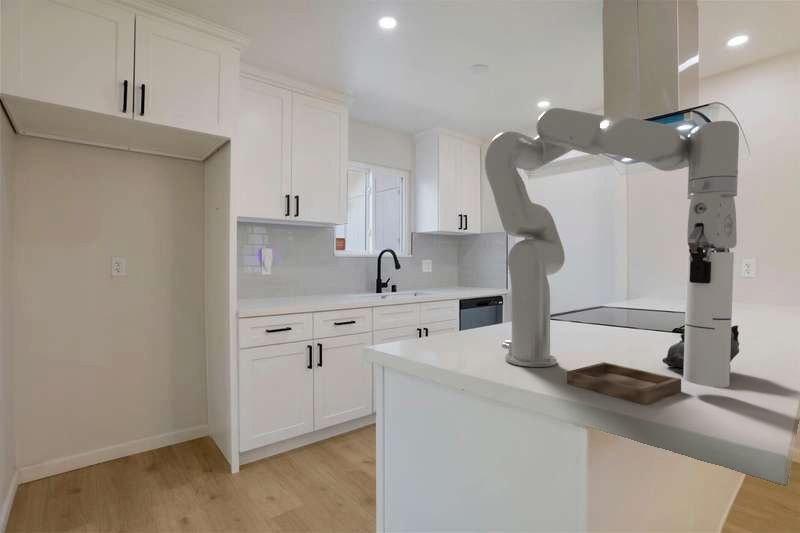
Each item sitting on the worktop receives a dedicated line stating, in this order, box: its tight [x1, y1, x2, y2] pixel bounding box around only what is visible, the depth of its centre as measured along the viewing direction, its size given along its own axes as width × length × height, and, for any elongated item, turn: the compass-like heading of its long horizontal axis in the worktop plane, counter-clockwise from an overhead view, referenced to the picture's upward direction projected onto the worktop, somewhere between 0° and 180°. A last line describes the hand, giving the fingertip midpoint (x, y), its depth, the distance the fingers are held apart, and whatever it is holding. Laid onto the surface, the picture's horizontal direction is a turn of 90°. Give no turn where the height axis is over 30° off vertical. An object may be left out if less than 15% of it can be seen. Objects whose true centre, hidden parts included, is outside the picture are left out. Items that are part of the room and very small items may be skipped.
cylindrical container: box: [682, 251, 735, 388], centre depth 79 cm, size 7×7×25 cm
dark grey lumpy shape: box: [661, 324, 740, 369], centre depth 94 cm, size 15×12×14 cm
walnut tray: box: [566, 361, 682, 406], centre depth 84 cm, size 16×14×2 cm
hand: (708, 281), depth 78 cm, fingers closed on cylindrical container, 7 cm apart
